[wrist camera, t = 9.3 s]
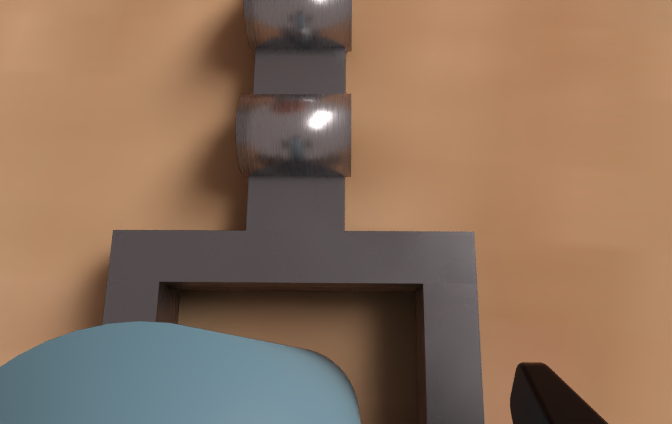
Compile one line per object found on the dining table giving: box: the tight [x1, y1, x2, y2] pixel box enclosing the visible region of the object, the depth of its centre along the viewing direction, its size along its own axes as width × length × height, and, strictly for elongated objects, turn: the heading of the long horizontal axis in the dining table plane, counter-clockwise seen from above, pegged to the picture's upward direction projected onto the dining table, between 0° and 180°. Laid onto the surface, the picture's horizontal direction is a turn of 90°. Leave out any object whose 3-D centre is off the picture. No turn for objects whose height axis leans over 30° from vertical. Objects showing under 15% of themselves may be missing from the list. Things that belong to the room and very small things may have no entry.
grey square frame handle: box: [102, 0, 484, 424], centre depth 15 cm, size 30×10×3 cm, turn 179°
